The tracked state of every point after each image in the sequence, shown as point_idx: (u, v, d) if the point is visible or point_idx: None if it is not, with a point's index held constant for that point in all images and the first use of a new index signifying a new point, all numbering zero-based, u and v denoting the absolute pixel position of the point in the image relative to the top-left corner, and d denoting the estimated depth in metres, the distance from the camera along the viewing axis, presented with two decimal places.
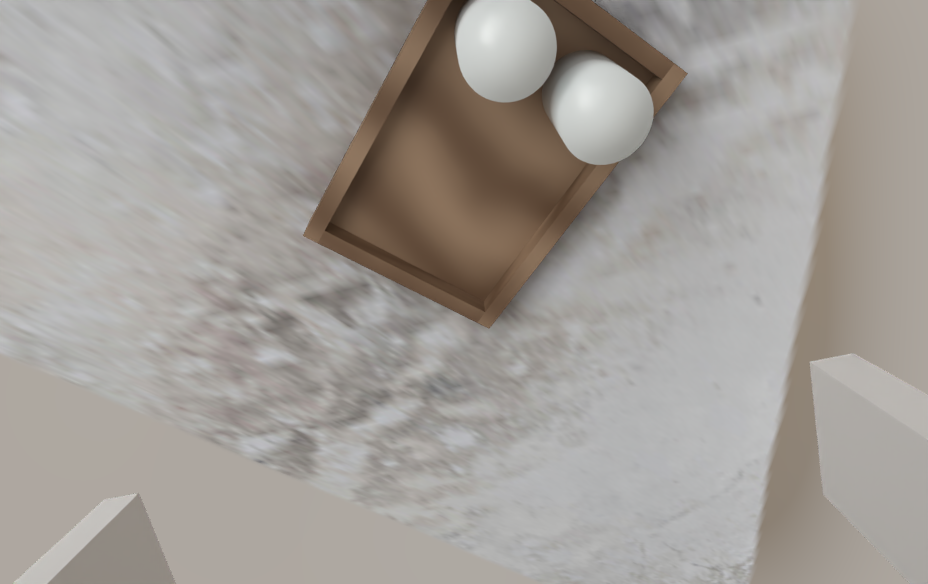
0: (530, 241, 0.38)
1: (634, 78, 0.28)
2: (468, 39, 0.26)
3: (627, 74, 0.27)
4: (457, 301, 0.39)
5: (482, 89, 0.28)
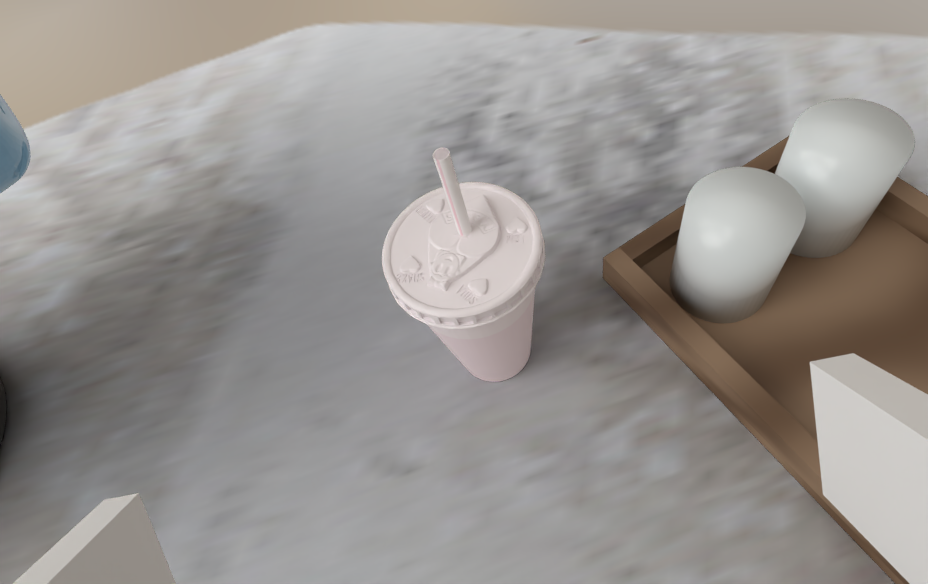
0: None
1: (806, 110, 0.26)
2: (719, 239, 0.24)
3: (800, 116, 0.26)
4: None
5: (782, 239, 0.23)
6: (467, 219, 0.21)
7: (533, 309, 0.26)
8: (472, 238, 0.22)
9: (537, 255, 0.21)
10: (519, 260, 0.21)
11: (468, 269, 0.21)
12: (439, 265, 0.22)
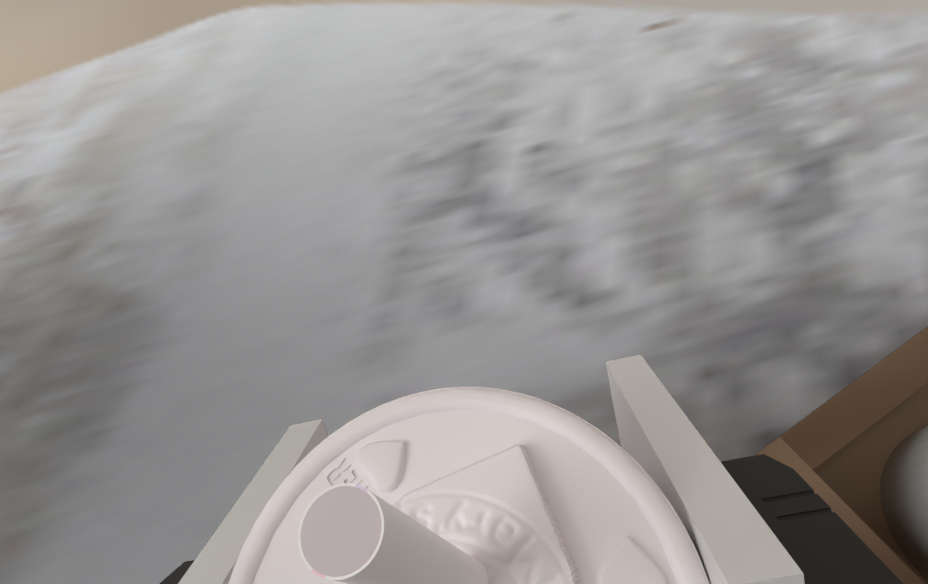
0: None
1: None
2: None
3: None
4: None
5: None
6: None
7: None
8: None
9: None
10: None
11: None
12: None
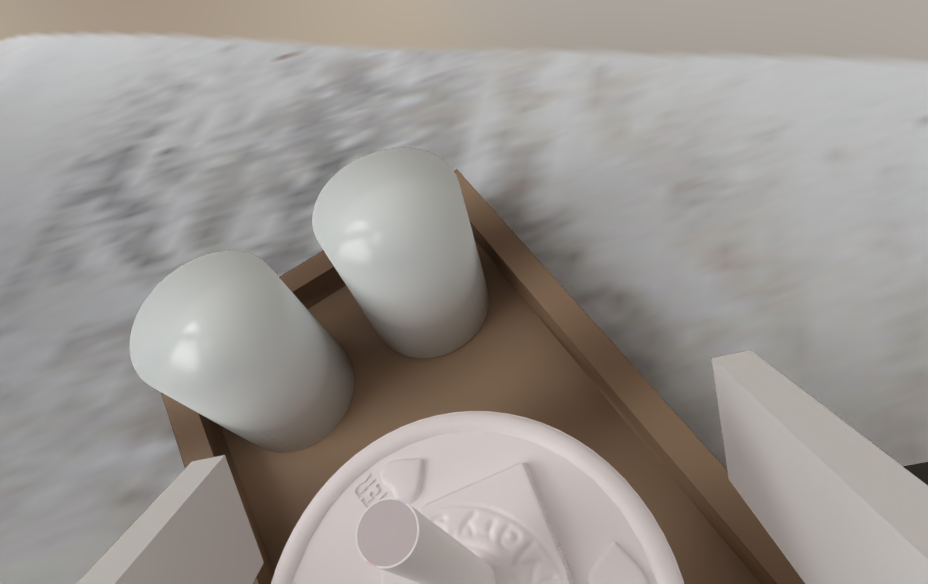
0: (660, 459, 0.18)
1: (340, 171, 0.18)
2: (151, 365, 0.16)
3: (331, 180, 0.18)
4: None
5: (223, 370, 0.15)
6: None
7: None
8: None
9: None
10: None
11: None
12: None
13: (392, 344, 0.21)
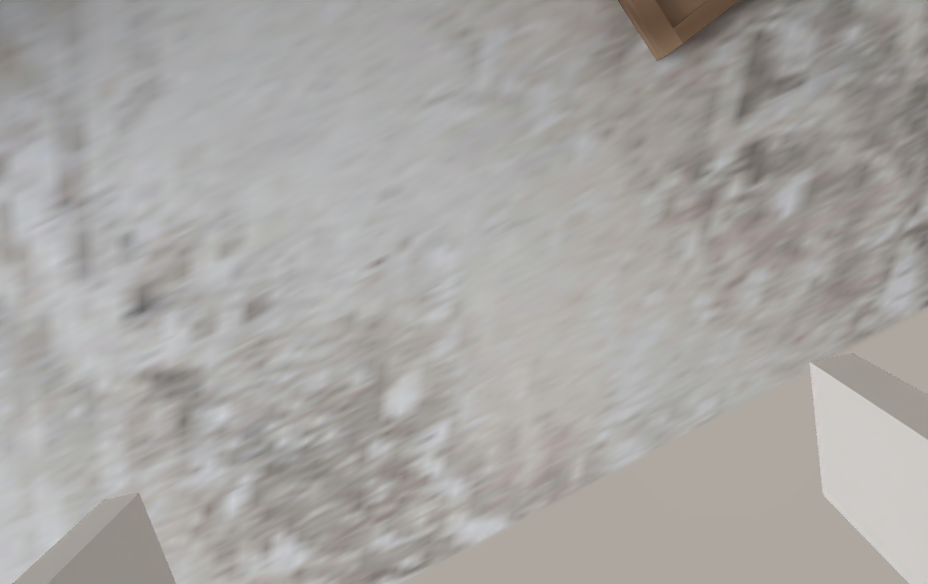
0: None
1: None
2: None
3: None
4: None
5: None
6: None
7: None
8: None
9: None
10: None
11: None
12: None
13: None
